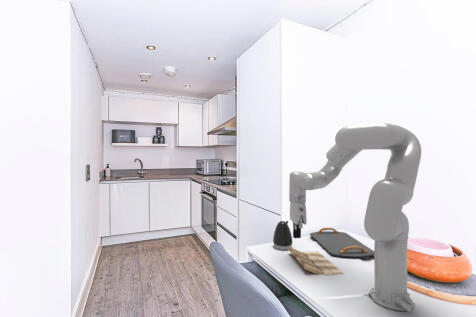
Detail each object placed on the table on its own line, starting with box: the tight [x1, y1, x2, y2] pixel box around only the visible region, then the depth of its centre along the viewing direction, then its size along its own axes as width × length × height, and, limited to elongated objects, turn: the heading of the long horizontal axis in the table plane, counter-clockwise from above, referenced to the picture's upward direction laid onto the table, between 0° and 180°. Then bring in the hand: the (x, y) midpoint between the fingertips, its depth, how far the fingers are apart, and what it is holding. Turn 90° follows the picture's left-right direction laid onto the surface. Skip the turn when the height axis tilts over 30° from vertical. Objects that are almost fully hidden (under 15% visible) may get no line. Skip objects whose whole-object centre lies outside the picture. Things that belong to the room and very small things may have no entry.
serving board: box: [309, 227, 374, 259], centre depth 133 cm, size 39×23×6 cm, turn 2°
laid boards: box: [302, 251, 344, 276], centre depth 110 cm, size 24×8×1 cm, turn 7°
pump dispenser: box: [272, 220, 293, 251], centre depth 129 cm, size 10×10×15 cm
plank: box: [288, 246, 324, 275], centre depth 109 cm, size 22×8×1 cm, turn 7°
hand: (296, 237), depth 112 cm, fingers closed
